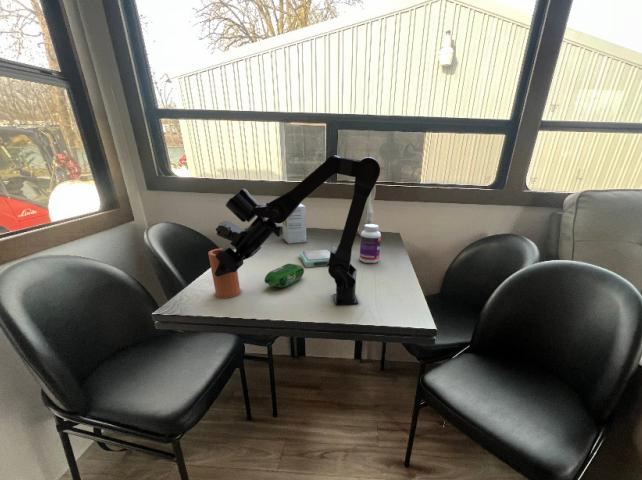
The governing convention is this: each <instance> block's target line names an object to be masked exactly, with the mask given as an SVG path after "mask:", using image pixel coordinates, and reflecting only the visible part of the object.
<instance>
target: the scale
mask: <svg viewBox="0 0 642 480" xmlns="http://www.w3.org/2000/svg"><path fill="white" fill-rule="evenodd" d="M330 252H331V251H329V250H327V249H318V250H317V249H316V250H303V251H299V258H300V260H301V261H302V263H303V264H304V266H305V268H313V267H315V268H316V267H325V266H326V267H328V266H327V263H328V260H329V258H330Z"/></svg>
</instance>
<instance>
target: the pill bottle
mask: <svg viewBox="0 0 642 480" xmlns="http://www.w3.org/2000/svg"><path fill="white" fill-rule="evenodd" d="M364 229H365V230H364V231H362V232H361V236H360V242H359V243H360V244H359V247H360V248H359V260H360V261H361V262H362V263H366V264H375V263H378V262H379V261H380V253H381V239H382V234H381V232H380V231H379V225H378V224H365V225H364Z"/></svg>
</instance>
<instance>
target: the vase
mask: <svg viewBox="0 0 642 480" xmlns="http://www.w3.org/2000/svg"><path fill="white" fill-rule="evenodd" d="M376 192H377V187H376V184H375V185H374V187H373V189H372V191H371V193H370V195H369V197H368V198H367V201H366V204H365V207H364V211H363V214H362V217H361V220H360V224H359V227H358V230H357V233H358V235H359V236H360V237H361V232H362V231H364V230H365V229H364V225H365V224H375V216H374V201H375V198H376ZM375 225H376V224H375Z"/></svg>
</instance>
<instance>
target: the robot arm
mask: <svg viewBox="0 0 642 480" xmlns="http://www.w3.org/2000/svg"><path fill="white" fill-rule="evenodd" d="M336 174H337V175H341V176H346V177H352V178H354V186H353V196H352V199H351V203H350V206H349V210H348V212H347V216H346V220H345V224H344V227H343V230H342V234H341V238H340V241H339V244H338V245H337V247H335V245H333V246H332V247H331V249H330V251H329V252H330V258H329V260H328V263H327V266H326V267H328V269H327V271H328V274H329V276H330V277H331V278H332V279H333V280H334V282H335V293H333V299H334V302H335V305H337V306H341V305H357V304H358V303H359V301H358V299H357V295H356V288H357V287H356V285H357V273H358V269H357V268H356V267H355V266H354V265H353V264H352V263H351V261H352V260H351V259H352V251H353V246H354V242H355V239H356V236H357V233H358V230H359V224H360V220H361V217H362V214H363V211H364V207H365V204H366V201H367V198H368V197H369V195H370V193H371V191H372V189H373V187H374V185H376V184H377V181H378V179H379V177H380V174H381V166H380V164H379V162H378V160H376V159H375V158H374V157H371V156H366V157H364V158H362V159H357V158H356V159H355V158H349V157H342V156H338V155H336V154H335V155H330V156H328V157H327V158H326V159H325V161H323V162H322V164H320V165H319V166H318V167H317V168H315V169H314V170H313V171H312V172H311V173H310V174H308V175H307V176H306V177H305V178H304V179H302V180H301V182H299V183H298V184H297V185H295V187H293V188H292V189H291V190H289V191H286V192H285V193H284V194H282V195H280V196H278V197H276V198H275V199H273V200H271V201H269V202H262V203H259V201H257V199H255V198H254V197H253V196H252V194H250V192H249V191H248V190H247V189H246V188H242V189H240V191H238V192H237V193H236V194H235V195H234V196H232V197H230V198H229V199H228V200H227V202H226V204H225V207H226V208H227V209H228V210H229V211H230V212H231V213H232V214H233V215H234V216H235V217H237V219H239V220H240V221H241V222H242V223H245V222H247V223H250V222H251V221H252V222H251V223H250V224H249V225H248V226H247V227H246V228H242V227H240V226H239V225H237V224H235V223H233V222H230V221H228V220H223V221H221V222H219V224H218V226H217V227H216V228H215V231H216V235H217V236H218V237H221V238H223V239H224V240H228V241H230V243H229V244H230V245H231V247H234V249H232V248H231V247H230V246H229V247H227V246H225V247H223V249H222V250H220V251H219V252H218V253H217V254H216V255H215V256H216V258H217V259H218V260H219V265H218V267H217V269H216V272H215V275H216V276H217V277H219V276H222V275H225V274H228V273H231V272H236V271H237V272H238V270H239V269H240V268H241V267H242V266H243V265H244V261H245V260H247V259H249V258H252V257H253V256H254V255H255V254H258V252H259V251H260V250H261V249H262V246H263V245H264V243H265V242H266V241H267V240H269V238H270V237H271V236H272V235H273V234H274V235H275V236H276V237H277V238H280V237H281V236H283V222H284V221H285V220H286V219H288V218H289V217H290V216H291V215H292V213H293V212H294V211H295V210H296V209H297V207H298V206H299V205H300V203H301V204H302V202H303V201H304V200H305V199H307V197H309V196H310V195H311V194H312V193H314V192H315V191H316V190H317V189H319V188H320V187H321V186H322V185H323V184H324V183H326V182H327V181H329V179H331V178H333V176H335V175H336ZM255 217H256V218H255ZM254 218H255V219H254ZM253 219H254V220H253ZM233 250H234V251H233Z"/></svg>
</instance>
